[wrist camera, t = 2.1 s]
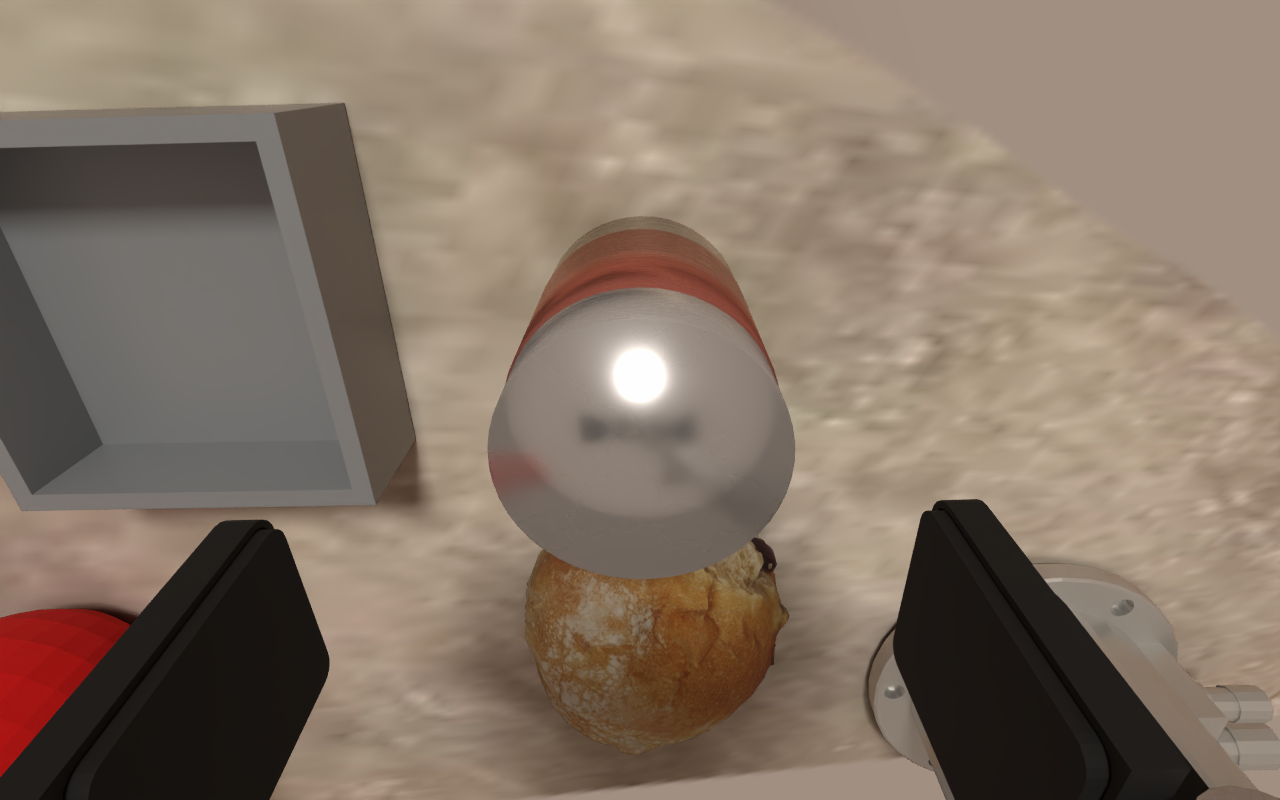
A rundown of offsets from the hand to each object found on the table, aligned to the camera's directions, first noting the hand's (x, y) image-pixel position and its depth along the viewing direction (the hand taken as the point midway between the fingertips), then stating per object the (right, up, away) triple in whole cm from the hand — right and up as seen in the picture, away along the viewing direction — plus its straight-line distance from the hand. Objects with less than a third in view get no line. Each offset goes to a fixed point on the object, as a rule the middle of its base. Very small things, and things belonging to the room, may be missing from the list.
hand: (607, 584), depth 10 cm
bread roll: (+1, -5, +18) cm, 18 cm away
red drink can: (+1, +6, +12) cm, 13 cm away
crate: (-13, +6, +12) cm, 19 cm away
